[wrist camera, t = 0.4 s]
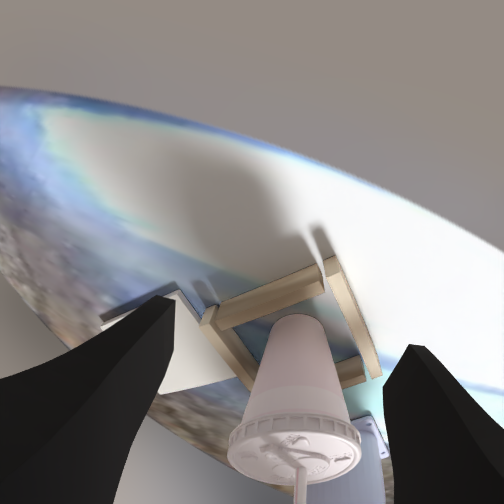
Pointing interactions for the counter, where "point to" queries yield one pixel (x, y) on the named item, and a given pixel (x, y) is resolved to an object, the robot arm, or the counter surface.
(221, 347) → the collar
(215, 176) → the counter surface
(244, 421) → the smoothie
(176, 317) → the coaster pad
